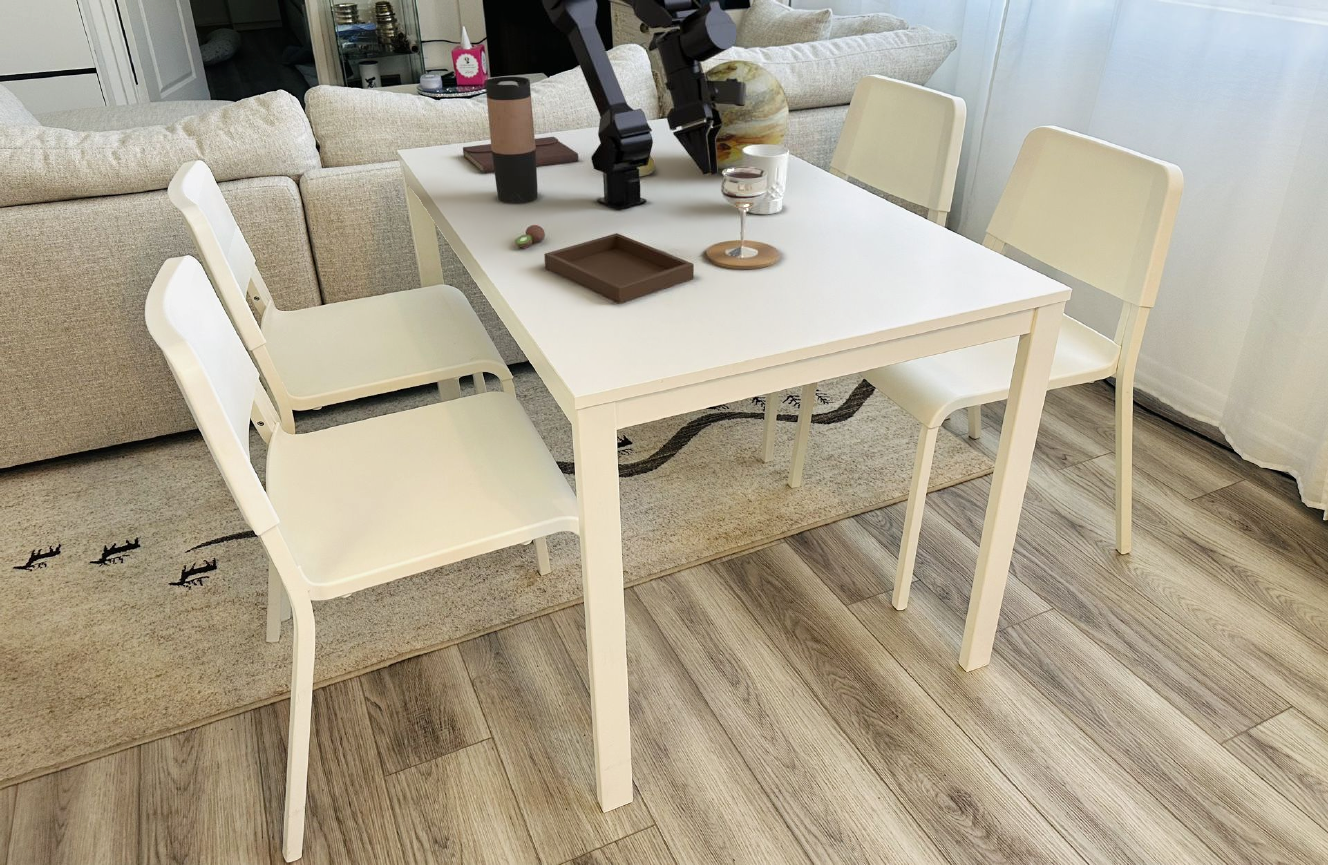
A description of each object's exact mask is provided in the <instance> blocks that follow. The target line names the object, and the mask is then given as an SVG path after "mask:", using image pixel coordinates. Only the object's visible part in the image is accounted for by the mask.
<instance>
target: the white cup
mask: <svg viewBox="0 0 1328 865" xmlns="http://www.w3.org/2000/svg"><path fill="white" fill-rule="evenodd" d="M789 158H790V150H789V148H787V147H785V146H782V145H780V146H777V145H752V146H747V147H745V148H743V149H742V167H756V168H761V169H764V170H766V171H767V172H768V175H767V177H766V178H765V180H766V181H767V193H766V195H765V197H764V199H763V200H762V201H760V202H759V203H758V204H757V205H756V206H753V207H751V208H749V210H748V211H746V213H751V214H755V215H773V214H777V213H780V212H781V211H782V210H783V204H784V196H785V192H786V186H787V185H786V183H787V176H788V169H789V168H788V166H789Z"/></svg>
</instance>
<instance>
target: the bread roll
mask: <svg viewBox="0 0 1328 865" xmlns="http://www.w3.org/2000/svg"><path fill="white" fill-rule="evenodd" d="M655 168H656V163H655V159H654V157H653V156H651V154H650V158H649V162H648V165H647V166H641V167H637V169H639V178H641V177H646V176H649V175H650V174H652V173H654V170H655Z"/></svg>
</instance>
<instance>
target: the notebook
mask: <svg viewBox="0 0 1328 865" xmlns="http://www.w3.org/2000/svg"><path fill="white" fill-rule="evenodd" d="M535 147H536V148H535V149H536V168H537V167H544V166H553V165H560V164H567V163H575V162H579V154H578V152H577V151H575V150H573V149H572V148H570V147H569V146H567V145H565V144H564V143H562V142H561V141H560V140H559V139H558V138H557V137H555V136H547V137H537V138H535ZM462 153H463V157H464V158H465V159H467V160H468V161H469V162H470V163H471V164H472V165H473V166H474V167H475V168H477V170H479V171H480V172H481V173H482V174H489V173H495V172H494V165H493V157H492V149H491V143H486V144H478V145H469V146H463V147H462Z"/></svg>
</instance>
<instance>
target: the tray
mask: <svg viewBox="0 0 1328 865" xmlns="http://www.w3.org/2000/svg"><path fill="white" fill-rule="evenodd" d="M543 254H544V255H543V256H544V269H545V270H547V271H550V272H552V273H554V274H556V275H558V276H560V277H562V278H564V279H566V280H569V281H570V282H572V283H574V284H577V285H579V286H581V287H583V288H585V289H587V290H590V291H592V292H594V293H595V294H597V295H600V296H602V297H604V298H606V299H608V300H610V301H612V302H614V303H616V304H619V305H620V304H624V303H627V302H630V301H633V300H636V299H639V298H641V297H644V296H647V295H650V294H654V293H656V292H659V291H662V290H664V289H668V288H670V287H674V286H678V285H680V284H683V283H686V282H688V281H691V280H692V281H693V280H694V278H695V277H694V276H695V275H694V271H695V268H694V266H695V265H694V263H693V262H690V261H688V260H685V259H683V258H681V257H677V256H676V255H673V254H671V253H668V252H666V251H663V250H661V249H657V248H655V247H652V246H651V245H648V244H645V243H643V242H640V241H638V240H636V239H633V238H630V237H628V236H625V235H623V234H621V233H618V232H615V233H613V234H609V235H605V236H601V237H599V238H595V239H591V240H588V241H584V242H581V243H577V244H574V245H570V246H566V247H563V248H560V249H556V250H552V251H549V252H545V253H543Z"/></svg>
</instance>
